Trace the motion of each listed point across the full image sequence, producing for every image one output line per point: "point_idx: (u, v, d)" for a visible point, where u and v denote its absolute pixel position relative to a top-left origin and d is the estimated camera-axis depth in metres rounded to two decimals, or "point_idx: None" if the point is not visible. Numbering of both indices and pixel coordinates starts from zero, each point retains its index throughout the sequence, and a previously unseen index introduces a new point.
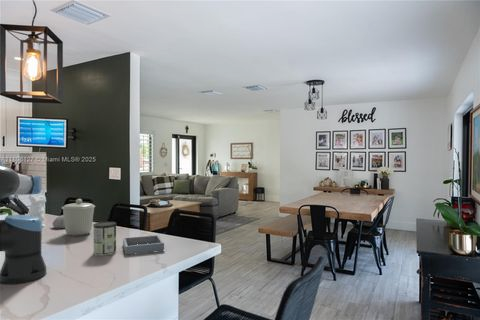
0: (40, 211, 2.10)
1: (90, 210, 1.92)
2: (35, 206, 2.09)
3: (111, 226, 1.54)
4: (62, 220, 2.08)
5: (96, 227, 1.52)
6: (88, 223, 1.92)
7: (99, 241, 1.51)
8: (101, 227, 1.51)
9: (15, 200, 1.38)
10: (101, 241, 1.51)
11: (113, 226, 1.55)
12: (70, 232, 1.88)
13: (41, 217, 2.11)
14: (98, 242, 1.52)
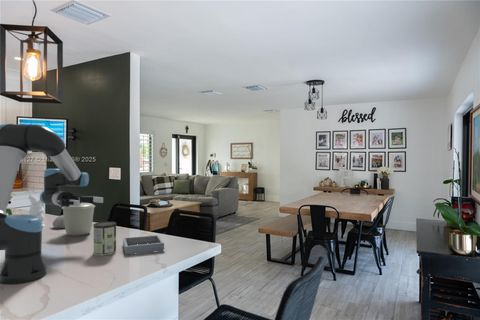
0: (40, 211, 2.10)
1: (90, 210, 1.92)
2: (35, 206, 2.09)
3: (111, 226, 1.54)
4: (62, 220, 2.08)
5: (96, 227, 1.52)
6: (88, 223, 1.92)
7: (99, 241, 1.51)
8: (101, 227, 1.51)
9: (81, 196, 1.73)
10: (101, 241, 1.51)
11: (113, 226, 1.55)
12: (70, 232, 1.88)
13: (41, 217, 2.11)
14: (98, 242, 1.52)
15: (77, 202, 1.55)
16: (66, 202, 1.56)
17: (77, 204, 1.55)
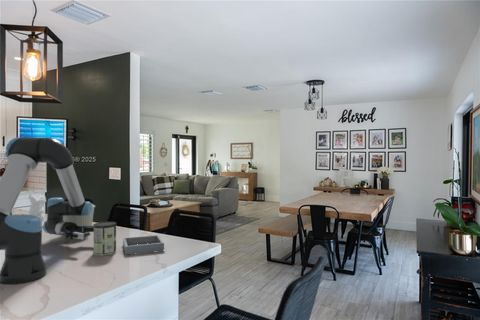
0: (40, 211, 2.10)
1: None
2: (35, 206, 2.09)
3: (111, 226, 1.54)
4: None
5: (96, 227, 1.52)
6: (88, 223, 1.92)
7: (99, 241, 1.51)
8: (101, 227, 1.51)
9: None
10: (101, 241, 1.51)
11: (113, 226, 1.55)
12: None
13: (41, 217, 2.11)
14: (98, 242, 1.52)
15: (81, 235, 1.54)
16: (70, 235, 1.55)
17: (81, 237, 1.54)
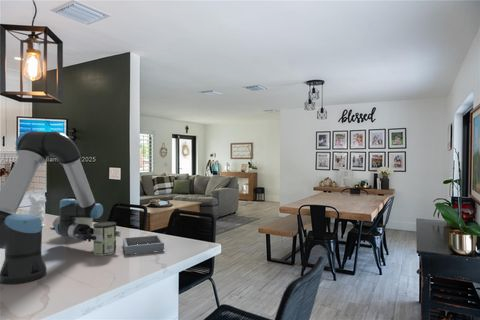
0: (40, 211, 2.10)
1: None
2: (35, 206, 2.09)
3: (111, 226, 1.54)
4: None
5: (96, 227, 1.52)
6: (88, 223, 1.92)
7: (99, 241, 1.51)
8: (101, 227, 1.51)
9: None
10: None
11: (113, 226, 1.55)
12: None
13: (41, 217, 2.11)
14: (98, 242, 1.52)
15: (100, 237, 1.50)
16: (88, 237, 1.51)
17: (100, 239, 1.50)
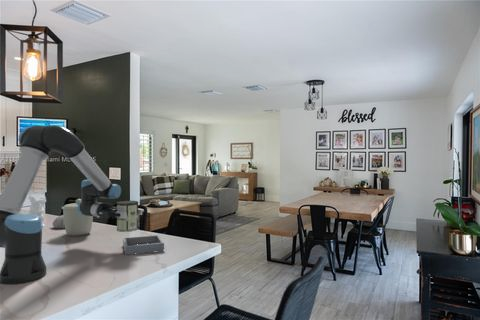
0: (40, 211, 2.10)
1: None
2: (35, 206, 2.09)
3: (134, 204, 1.60)
4: (62, 220, 2.08)
5: (120, 205, 1.58)
6: (88, 223, 1.92)
7: (122, 218, 1.57)
8: (125, 204, 1.57)
9: None
10: (125, 218, 1.57)
11: (136, 204, 1.61)
12: (70, 232, 1.88)
13: (41, 217, 2.11)
14: (122, 219, 1.57)
15: (124, 214, 1.56)
16: (113, 214, 1.57)
17: (124, 216, 1.56)
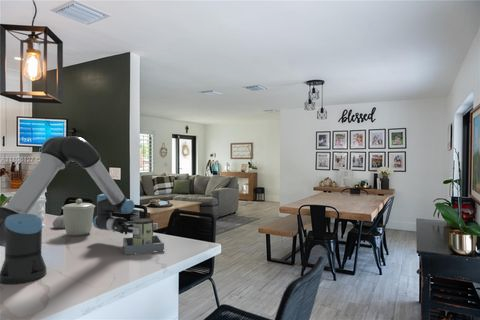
0: (40, 211, 2.10)
1: (90, 210, 1.92)
2: (35, 206, 2.09)
3: (149, 222, 1.62)
4: (62, 220, 2.08)
5: (136, 223, 1.60)
6: (88, 223, 1.92)
7: (138, 236, 1.59)
8: (141, 223, 1.59)
9: None
10: (141, 236, 1.59)
11: (151, 222, 1.63)
12: (70, 232, 1.88)
13: (41, 217, 2.11)
14: (138, 237, 1.60)
15: (136, 230, 1.57)
16: (125, 230, 1.58)
17: (136, 232, 1.57)
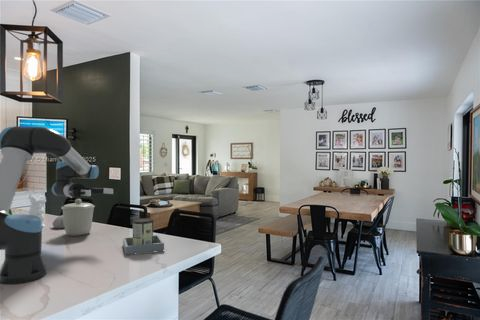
0: (40, 211, 2.10)
1: (89, 210, 1.91)
2: (35, 206, 2.09)
3: (149, 222, 1.62)
4: (62, 220, 2.08)
5: (136, 223, 1.60)
6: (88, 223, 1.91)
7: (138, 236, 1.60)
8: (140, 223, 1.59)
9: None
10: (141, 236, 1.60)
11: (151, 222, 1.63)
12: (69, 232, 1.87)
13: (41, 217, 2.11)
14: (138, 237, 1.60)
15: (88, 192, 1.59)
16: (78, 192, 1.61)
17: (88, 194, 1.59)
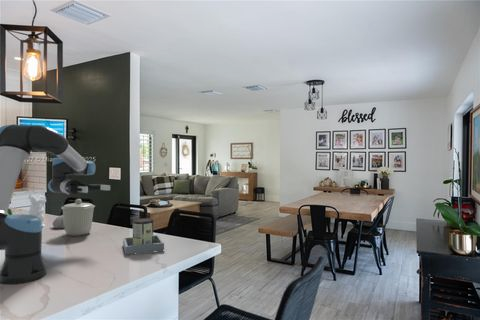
0: (40, 211, 2.10)
1: (89, 210, 1.91)
2: (35, 206, 2.09)
3: (149, 222, 1.62)
4: (62, 220, 2.08)
5: (136, 223, 1.60)
6: (88, 223, 1.91)
7: (138, 236, 1.60)
8: (140, 223, 1.59)
9: (89, 184, 1.77)
10: (141, 236, 1.59)
11: (151, 222, 1.63)
12: (69, 232, 1.87)
13: (41, 217, 2.11)
14: (137, 237, 1.60)
15: (85, 189, 1.59)
16: (75, 189, 1.60)
17: (85, 190, 1.59)
